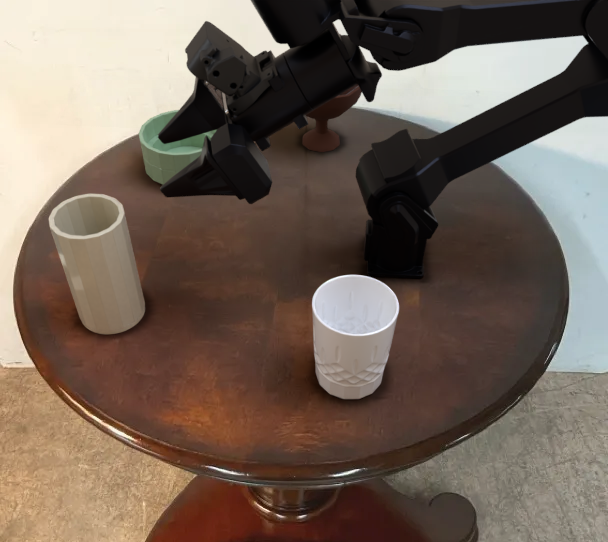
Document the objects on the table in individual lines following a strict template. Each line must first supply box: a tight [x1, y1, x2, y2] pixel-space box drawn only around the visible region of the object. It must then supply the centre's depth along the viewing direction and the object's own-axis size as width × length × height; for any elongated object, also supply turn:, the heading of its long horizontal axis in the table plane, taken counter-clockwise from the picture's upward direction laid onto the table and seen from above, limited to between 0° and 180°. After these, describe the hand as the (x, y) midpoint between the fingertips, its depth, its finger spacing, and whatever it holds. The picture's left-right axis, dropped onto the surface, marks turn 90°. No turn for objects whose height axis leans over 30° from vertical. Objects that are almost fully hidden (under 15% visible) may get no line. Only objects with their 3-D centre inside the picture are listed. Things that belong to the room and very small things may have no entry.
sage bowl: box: [138, 109, 216, 185], centre depth 92 cm, size 11×11×6 cm
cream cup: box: [48, 193, 146, 335], centre depth 71 cm, size 7×7×13 cm
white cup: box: [311, 274, 400, 400], centre depth 66 cm, size 8×8×10 cm
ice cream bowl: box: [302, 33, 363, 153], centre depth 94 cm, size 11×11×15 cm
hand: (161, 165), depth 68 cm, fingers open, 9 cm apart
